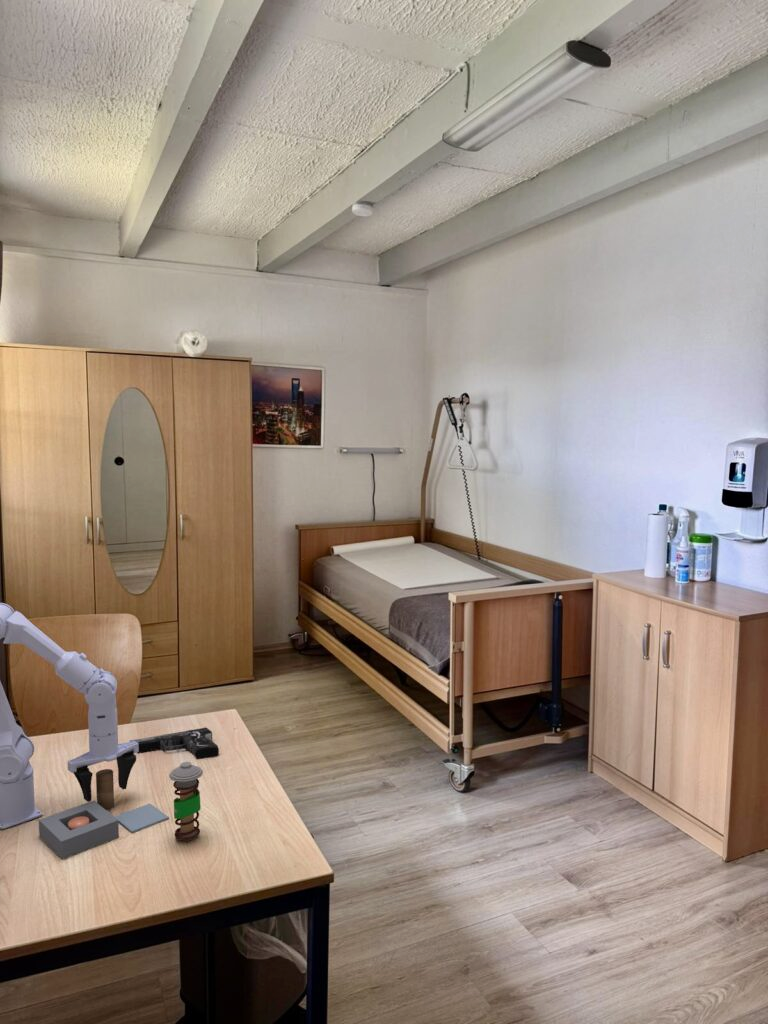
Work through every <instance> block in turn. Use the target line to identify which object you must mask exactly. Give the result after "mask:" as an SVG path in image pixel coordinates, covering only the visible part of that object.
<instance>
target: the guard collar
mask: <svg viewBox="0 0 768 1024" xmlns="http://www.w3.org/2000/svg"><path fill="white" fill-rule="evenodd" d="M81 816H84V817H88V818H89V824H86V825H84V826H81V827H78V828H76V829H73V830H69V829H68V822H69V821H70V820H71V819H73V818H76V817H81ZM38 832H39V836H38V837H39V838H40V839H41V840H42V841H43V842H44V843H45V844H46V845H47V846H48V847H49V848H50V849H51V850H52V851H53V852H54V853H55V854H56V855H57V857H59V858H60V859H61V860H64V859H67V858H69V857H72V856H75V855H77V854H79V853H82V852H85V851H87V850H90V849H93V848H95V847H98V846H101V845H103V844H105V843H108V842H109V841H110V842H111V841H112V840H115V839H118V838H119V837H120V832H119V822H118V819H116V818H115V817H114V815H112V814H111V813H110V812H109V811H108V810H105V809H104V808H103V807H101V806H100V805H99V804H98V803H97V801H96V800H91V801H89V802H86V803H84V804H80V805H78V806H75V807H74V806H73V807H72V808H68V809H65V810H63V811H60V812H57V813H53V814H51V815H49V816H46V817H42V818H41V819H38Z"/></svg>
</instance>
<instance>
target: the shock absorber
mask: <svg viewBox="0 0 768 1024" xmlns="http://www.w3.org/2000/svg"><path fill="white" fill-rule="evenodd" d="M203 774H204V771H203V769H202V768H201V767H200V766H196V765H194V764H192V762H190V761H184V762H182V763H180V765H179V766H178V767H176V768H173V770H171V772H170V773H169V774H168V775H169V779H170V780H171V781H174V783H173V784H172V785H173V786H172V787H174V788H175V790H174V793H173V794H174V795H176V796H179V797H176V798H174V799H173V817H174V819H175V820H174V824H175V825H176V826H180V827H177V828H176V830H174V837H175V838H176V839H177V840H179V841H183V842H184V841H185V842H189V841H191V840H193V839H195V838H197V837H198V836H199V835H200V833H201V830H200V828H199V827H200V821H199V820H198V819H199V817H200V811H201V807H202V806H201V793H200V792H201V791H200V790H199V784H200V781H199V778H201V777H202V776H203ZM195 814H196V816H195ZM195 823H196V826H195Z"/></svg>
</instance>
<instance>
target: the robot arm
mask: <svg viewBox="0 0 768 1024" xmlns="http://www.w3.org/2000/svg"><path fill="white" fill-rule="evenodd" d="M3 638H4V640H3V642H2V644H5V645H8V644H21V645H24V646H25V647H27V648H28V649H29V650H30V651H32V652H34V653H35V654H37V655H38V656H40V657H41V658H43V659H45V660H46V661H48V662H49V663H50V664H52V665H53V666H54V672H55V675H56V676H58V677H60V679H61V680H63V681H65V683H67V684H68V685H70V686H71V687H73V688H74V689H75V690H77V691H78V692H79V693H81V694H84V699H85V702H86V703H87V705H88V712H87V719H88V721H87V723H88V748H89V749H88V750H89V751H87V752H85V753H83V754H81V755H79V756H76V757H75V758H72V759H69V760H67V771H68V772H70V773H72V774H73V775H74V777H75V778H76V780H77V782H78V784H79V786H80V789H81V793H82V797H83V799H84V800H85V801H86V803H88V802H91V801H92V795H93V794H92V779H93V772H91V771H90V768H89V767H91V766H93V765H96V764H99V763H104V762H108V763H109V762H113V761H116V764H117V772H118V773H117V779H118V787H119V788H121V790H123V791H124V790H126V789H127V786H128V781H129V778H130V774H131V771H132V769H133V767H134V765H135V763H136V762H137V755H136V753H138V752H139V746H138V743H137V742H135V741H132V742H130V741H129V742H128V741H127V742H121V743H119V731H118V730H119V727H118V708H117V698H116V696H117V694H116V693H117V690H118V681H117V678H116V677H115V676H114V675H113V673H112V672H110V671H106V670H104V669H103V668H102V667H101V668H100V669H99V668H98V667H97V666H95V665H94V664H93V663H92V662H90V661H89V660H88V659H87V657H88V656H87V655H86V654H85V653H84V652H81V653H78V652H77V651H66V650H64V649H63V648H62V647H61V646H59V645H58V644H57V643H56V642H55V641H54V640H52V639H51V637H49V636H47V635H46V634H45V633H44V632H43V631H41V629H39V628H38V627H37V626H35V625H34V624H33V623H32V622H31V620H29V619H28V618H26V616H25V615H24V614H23V613H21V612H20V611H18V610H14V609H13V607H12V606H11V605H9V604H7V603H4V602H0V640H1V639H3ZM34 753H35V745H34V742H33V741H32V739H31V738H30V737H29V736H27V735H26V733H25V732H24V730H23V727H22V726H20V725H19V724H18V723H17V722H16V719H15V716H14V714H13V711H12V708H11V706H10V703H9V700H8V698H7V694H6V692H5V689H4V687H3V684H2V682H1V680H0V829H1V830H5V829H7V828H11V827H14V826H17V825H19V824H23V823H25V822H27V821H31V820H35V819H36V818H39V817H41V816H43V812H41V811H40V809H38V808H37V806H36V805H35V786H34V785H35V783H34V782H35V781H34V779H35V778H34V767H33V765H31V762H30V759H31V758H32V757H33V756H34ZM139 753H140V752H139Z"/></svg>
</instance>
